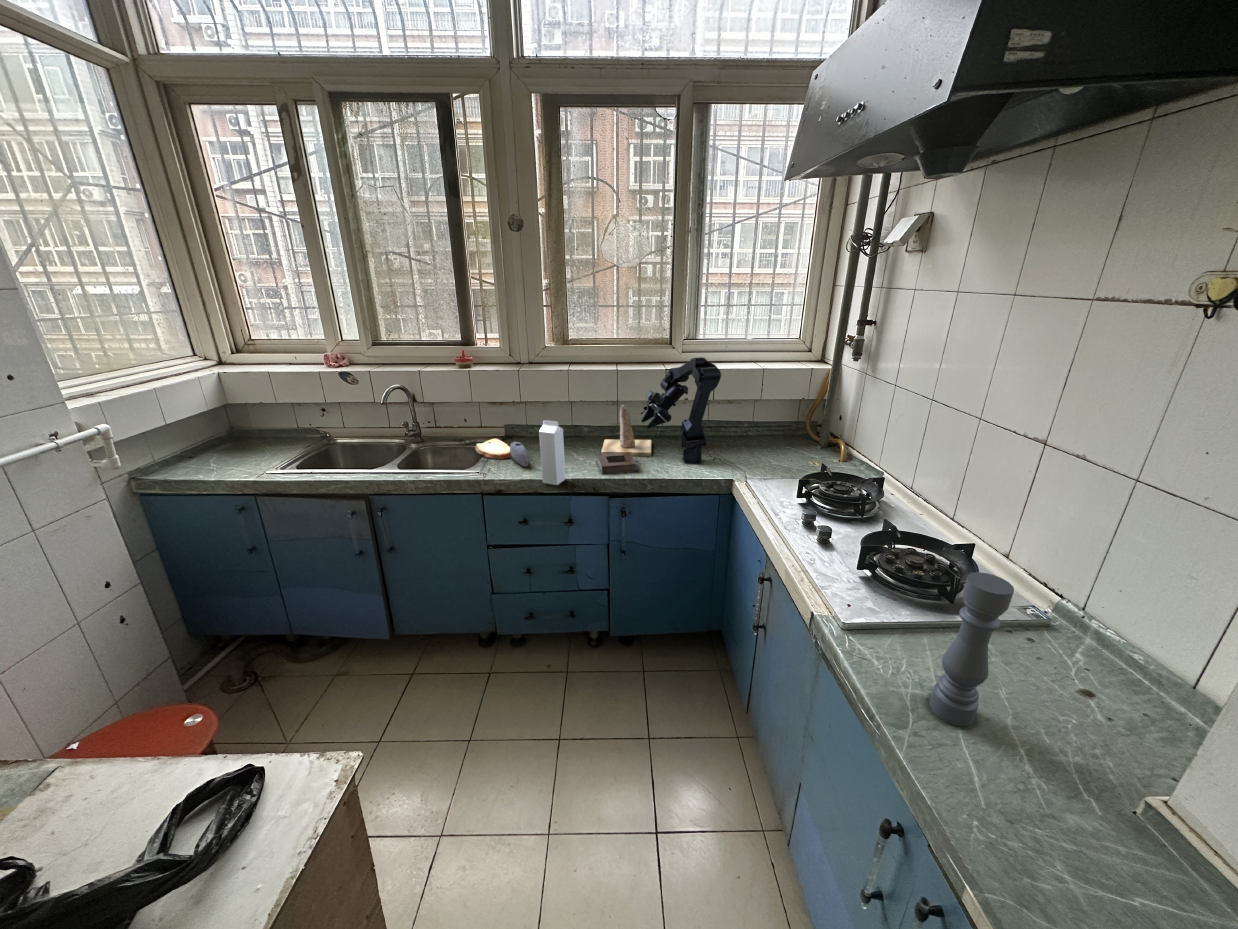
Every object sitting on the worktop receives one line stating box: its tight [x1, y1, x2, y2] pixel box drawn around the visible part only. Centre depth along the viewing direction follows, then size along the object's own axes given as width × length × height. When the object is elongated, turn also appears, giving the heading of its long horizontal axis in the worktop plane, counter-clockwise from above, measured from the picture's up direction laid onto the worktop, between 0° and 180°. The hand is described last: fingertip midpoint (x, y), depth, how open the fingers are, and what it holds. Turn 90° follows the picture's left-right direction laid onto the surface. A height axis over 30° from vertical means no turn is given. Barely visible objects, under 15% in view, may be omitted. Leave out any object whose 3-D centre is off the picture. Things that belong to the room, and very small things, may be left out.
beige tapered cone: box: [619, 404, 636, 448], centre depth 202 cm, size 6×18×6 cm
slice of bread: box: [474, 437, 513, 460], centre depth 204 cm, size 18×18×4 cm
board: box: [600, 438, 652, 457], centre depth 206 cm, size 20×16×2 cm
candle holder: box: [929, 571, 1015, 727], centre depth 78 cm, size 6×6×25 cm
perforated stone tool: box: [509, 441, 530, 468], centre depth 191 cm, size 15×5×7 cm, turn 26°
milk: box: [538, 419, 566, 486], centre depth 171 cm, size 6×6×22 cm
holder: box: [596, 452, 638, 475], centre depth 187 cm, size 13×13×3 cm
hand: (644, 424), depth 202 cm, fingers open, 9 cm apart
